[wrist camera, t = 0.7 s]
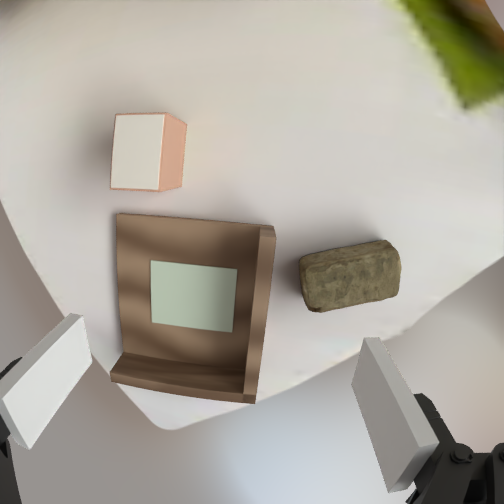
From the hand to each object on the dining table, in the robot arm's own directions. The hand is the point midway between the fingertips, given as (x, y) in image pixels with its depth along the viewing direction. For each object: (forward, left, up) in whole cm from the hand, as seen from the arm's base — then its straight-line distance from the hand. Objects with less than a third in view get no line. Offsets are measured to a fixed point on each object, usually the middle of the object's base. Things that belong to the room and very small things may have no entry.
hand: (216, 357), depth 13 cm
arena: (+8, -6, -23) cm, 25 cm away
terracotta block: (-9, -10, -23) cm, 26 cm away
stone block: (+2, +12, -23) cm, 26 cm away
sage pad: (+7, -5, -22) cm, 23 cm away
